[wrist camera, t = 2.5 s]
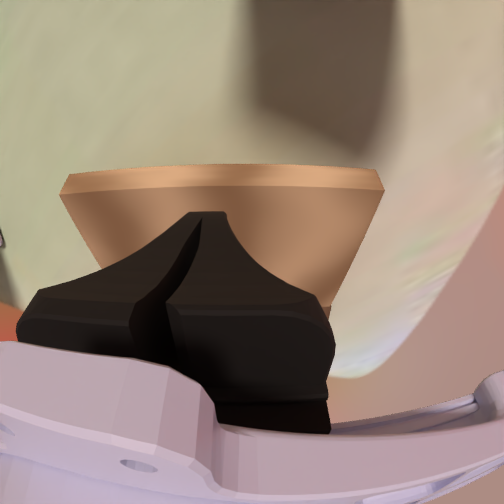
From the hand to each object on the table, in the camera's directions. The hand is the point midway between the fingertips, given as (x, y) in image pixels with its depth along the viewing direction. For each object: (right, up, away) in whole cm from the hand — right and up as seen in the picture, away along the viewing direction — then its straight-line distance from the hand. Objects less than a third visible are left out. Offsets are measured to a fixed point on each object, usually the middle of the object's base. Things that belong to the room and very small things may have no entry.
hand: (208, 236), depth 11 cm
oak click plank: (0, 0, +8) cm, 8 cm away
